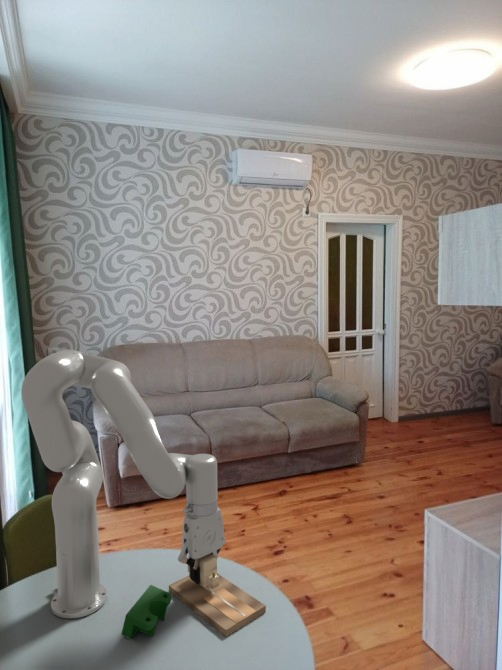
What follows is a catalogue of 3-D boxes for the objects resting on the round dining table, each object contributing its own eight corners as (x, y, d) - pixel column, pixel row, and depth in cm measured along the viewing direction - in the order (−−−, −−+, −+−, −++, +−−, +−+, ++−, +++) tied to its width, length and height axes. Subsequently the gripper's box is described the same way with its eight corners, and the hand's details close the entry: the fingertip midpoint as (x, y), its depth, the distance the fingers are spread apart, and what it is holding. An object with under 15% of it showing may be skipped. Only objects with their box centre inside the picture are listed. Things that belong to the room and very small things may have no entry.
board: (168, 590, 120) (168, 584, 120) (207, 571, 128) (207, 566, 128) (226, 636, 104) (226, 629, 104) (265, 611, 112) (265, 605, 112)
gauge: (184, 573, 121) (184, 550, 121) (197, 567, 124) (197, 544, 123) (209, 591, 114) (209, 566, 113) (222, 584, 117) (222, 560, 116)
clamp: (146, 657, 104) (146, 634, 99) (122, 645, 105) (121, 622, 101) (173, 606, 114) (174, 583, 109) (150, 596, 115) (150, 573, 110)
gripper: (182, 522, 109) (183, 599, 111) (238, 500, 120) (238, 570, 122) (164, 511, 114) (165, 585, 116) (219, 491, 126) (219, 559, 127)
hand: (202, 577), depth 119 cm, fingers closed on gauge, 4 cm apart
